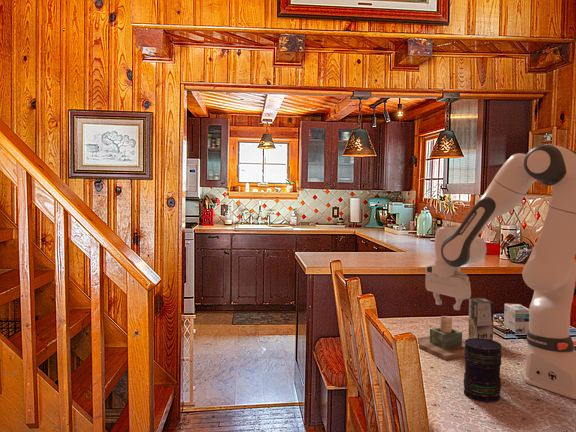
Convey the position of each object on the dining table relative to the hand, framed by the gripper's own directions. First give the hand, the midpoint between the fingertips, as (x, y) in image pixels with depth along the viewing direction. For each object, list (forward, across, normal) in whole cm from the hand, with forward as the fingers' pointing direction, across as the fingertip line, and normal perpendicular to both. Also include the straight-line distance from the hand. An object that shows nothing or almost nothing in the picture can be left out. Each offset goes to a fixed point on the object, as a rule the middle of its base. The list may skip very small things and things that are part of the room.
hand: (447, 307), depth 175 cm
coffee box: (+16, +2, -18) cm, 24 cm away
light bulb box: (+16, +5, -41) cm, 44 cm away
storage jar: (+16, -35, +19) cm, 43 cm away
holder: (+15, +1, 0) cm, 15 cm away
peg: (+14, +1, 0) cm, 14 cm away
